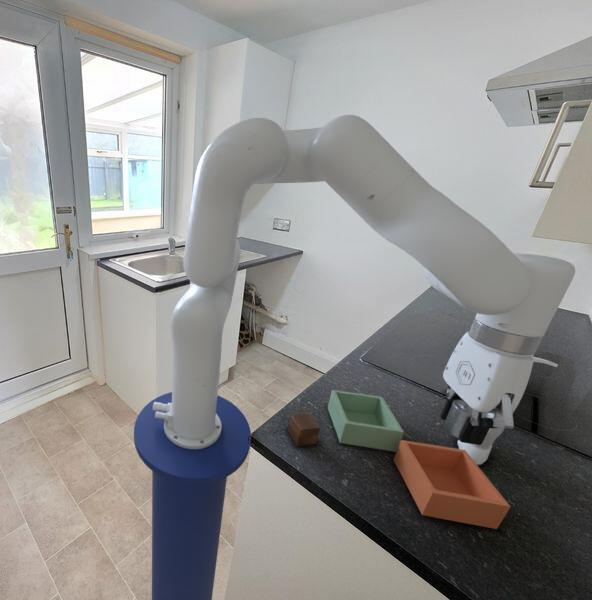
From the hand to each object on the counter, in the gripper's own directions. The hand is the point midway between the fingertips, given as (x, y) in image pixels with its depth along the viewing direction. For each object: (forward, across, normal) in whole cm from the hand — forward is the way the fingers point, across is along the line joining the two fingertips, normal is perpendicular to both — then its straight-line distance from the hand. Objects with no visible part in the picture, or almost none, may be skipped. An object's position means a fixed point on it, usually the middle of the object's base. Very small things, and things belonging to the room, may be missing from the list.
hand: (459, 429), depth 53 cm
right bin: (+14, 0, +1) cm, 14 cm away
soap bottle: (+15, -12, +15) cm, 24 cm away
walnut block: (+14, -8, -23) cm, 28 cm away
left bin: (+14, -14, -9) cm, 22 cm away
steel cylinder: (0, 0, 0) cm, 0 cm away
